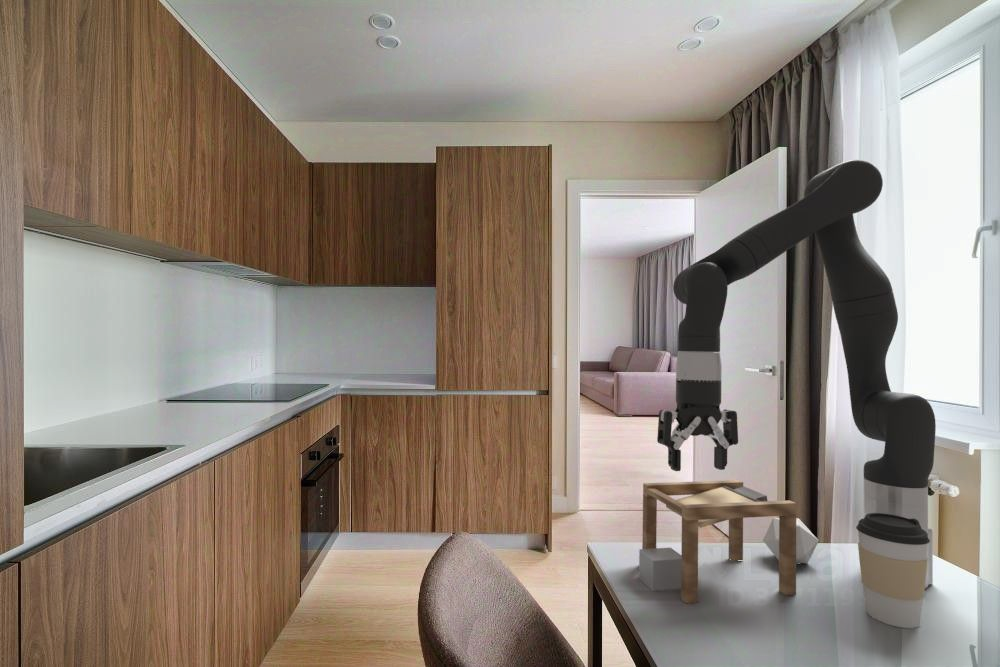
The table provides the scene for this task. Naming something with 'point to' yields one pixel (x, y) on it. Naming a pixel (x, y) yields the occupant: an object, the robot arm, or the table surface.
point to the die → (803, 540)
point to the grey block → (660, 568)
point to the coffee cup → (893, 568)
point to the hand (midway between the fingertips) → (697, 469)
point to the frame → (718, 511)
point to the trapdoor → (721, 500)
